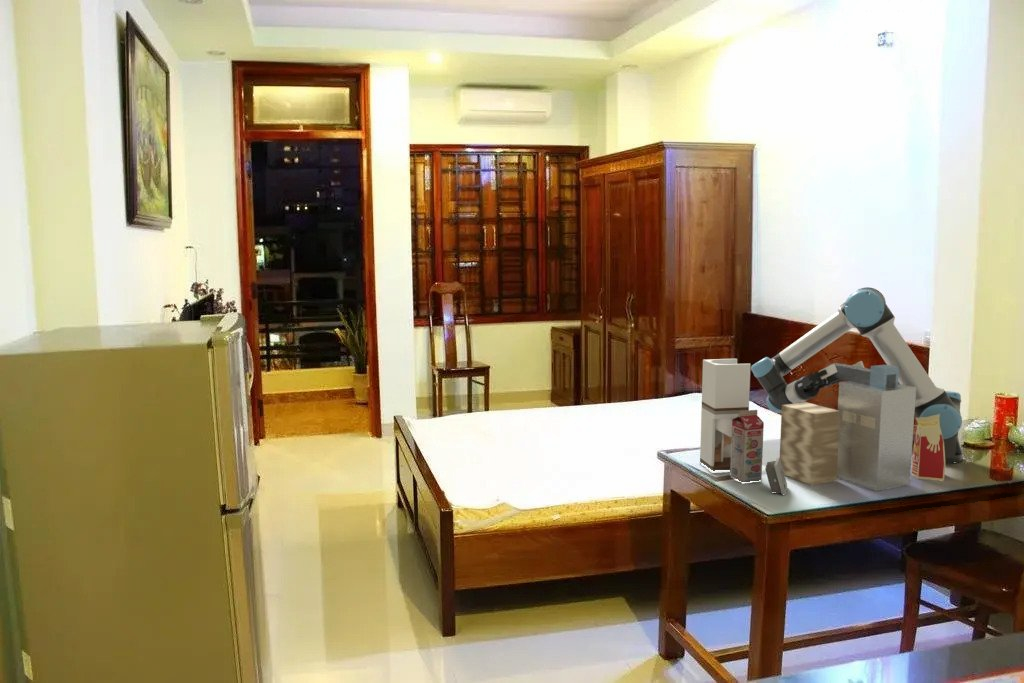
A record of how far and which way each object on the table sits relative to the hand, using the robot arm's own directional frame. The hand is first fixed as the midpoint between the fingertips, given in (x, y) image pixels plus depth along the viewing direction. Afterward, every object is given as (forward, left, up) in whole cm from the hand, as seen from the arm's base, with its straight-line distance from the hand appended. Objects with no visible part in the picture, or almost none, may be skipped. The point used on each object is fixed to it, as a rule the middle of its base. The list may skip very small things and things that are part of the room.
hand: (849, 366), depth 253 cm
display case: (+38, +3, -34) cm, 51 cm away
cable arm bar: (-3, +4, -4) cm, 6 cm away
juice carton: (+32, +15, -34) cm, 49 cm away
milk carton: (-24, +1, -34) cm, 42 cm away
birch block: (+12, +8, -34) cm, 37 cm away
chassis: (-6, +9, -34) cm, 36 cm away
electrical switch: (+24, +24, -34) cm, 48 cm away
